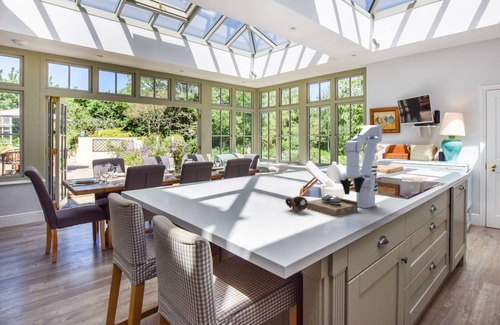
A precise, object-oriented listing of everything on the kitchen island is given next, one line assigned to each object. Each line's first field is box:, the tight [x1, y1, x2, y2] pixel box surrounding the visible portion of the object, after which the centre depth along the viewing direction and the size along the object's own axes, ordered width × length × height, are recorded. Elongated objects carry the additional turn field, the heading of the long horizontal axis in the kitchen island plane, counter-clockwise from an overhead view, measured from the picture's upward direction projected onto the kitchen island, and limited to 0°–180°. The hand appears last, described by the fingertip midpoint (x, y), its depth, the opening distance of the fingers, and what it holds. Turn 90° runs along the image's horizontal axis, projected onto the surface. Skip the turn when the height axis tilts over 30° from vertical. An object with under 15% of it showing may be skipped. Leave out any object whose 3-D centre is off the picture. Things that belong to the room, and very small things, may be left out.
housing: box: [306, 197, 359, 217], centre depth 150 cm, size 16×20×4 cm
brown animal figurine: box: [285, 195, 308, 214], centre depth 149 cm, size 12×10×8 cm
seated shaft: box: [320, 193, 332, 203], centre depth 152 cm, size 5×5×7 cm
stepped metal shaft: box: [330, 195, 342, 206], centre depth 147 cm, size 5×5×7 cm
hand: (352, 193), depth 143 cm, fingers open, 7 cm apart
